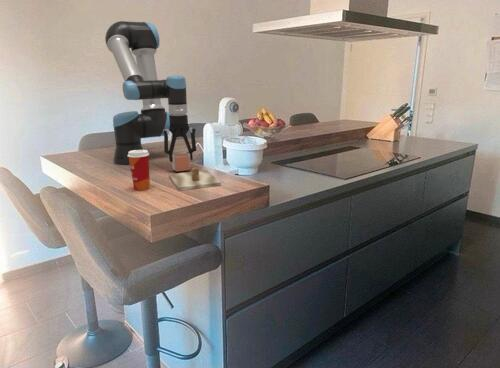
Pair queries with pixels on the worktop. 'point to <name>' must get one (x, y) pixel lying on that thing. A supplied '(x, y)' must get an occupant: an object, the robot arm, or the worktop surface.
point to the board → (189, 184)
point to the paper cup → (139, 169)
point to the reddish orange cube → (182, 162)
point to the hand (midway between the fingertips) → (181, 168)
